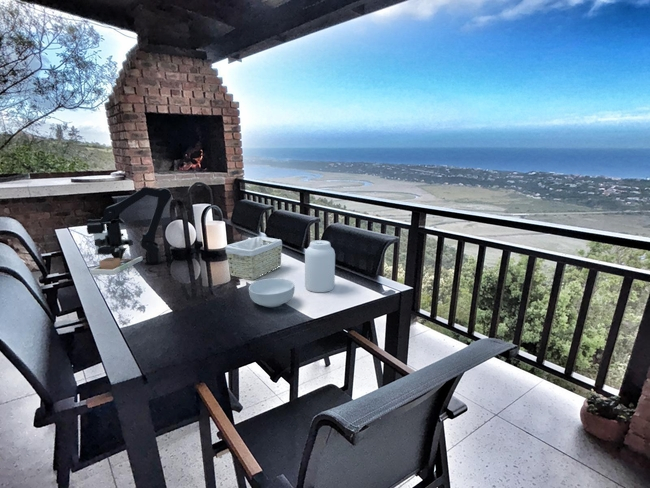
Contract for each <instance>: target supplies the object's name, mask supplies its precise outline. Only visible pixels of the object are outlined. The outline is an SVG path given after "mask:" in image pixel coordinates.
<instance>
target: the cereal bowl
mask: <svg viewBox="0 0 650 488" xmlns="http://www.w3.org/2000/svg"><path fill="white" fill-rule="evenodd" d="M248 292H249V293H248V294H249V296H250V299H251V301H252V302H254V303H255V304H257V305H259V306H263V307H266V308H277V307H280V306H282V305H284V304H285V303H287V302H289V301H290V300H291V299H292V298H293V296H294V294H295V283H294V282H293V281H291V280H289V279H285V278H280V277H278V278H277V277H276V278H275V277H273V278H266V279H265V278H263V279H260V280H256V281H254V282H252V283H250V285H249V287H248Z"/></svg>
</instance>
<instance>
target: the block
mask: <svg viewBox="0 0 650 488" xmlns="http://www.w3.org/2000/svg"><path fill="white" fill-rule="evenodd" d="M121 265H122V261H120V258H114V257H106V258H103V259H101V260H99V266H100V267H101V269H107V270H113V269H115V268H117V267H119V266H121Z"/></svg>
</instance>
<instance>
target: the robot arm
mask: <svg viewBox="0 0 650 488" xmlns="http://www.w3.org/2000/svg"><path fill="white" fill-rule="evenodd" d="M146 196H150V197H154V198H157V201H156V206H155V209H154V212H153V215H152V217H151V221H150V224H149V226H148V229H147V231H146V232H144V231H143V232H142V236H141V237H140V246H141V248H142V249H144V250H145V255H144V256H145V263H144V265H158V264H159V265H160V263H163V262H164V259H162V251H161V250H160V244H158V242H156V241H155V240H156V235H157V234H156V233H157V230H158V228H159V224H160V222H161V218H162V216H163V212H164V210H165V207H166V206H167V205H168V203H169V201H170V199H171V197H172V192H171V191H170V189H169V188H166V187H162V188H156V187H150V186H149V187H148V186H143V187H141V188H140V189H139V190H137V191H136V192H134V193H133V194H131V195H130V196H128V197H126V198H125V199H123V200H122V201H120V202H117V203H114V204H112V205H109V206H107V207H106V208H105V209H104V210H103V216H102V217H100V219H87V220H86V231H87V232H86V233H87V235H93V234H99V233H103V231H105V230H107V235H105V239H102V240H101V239H96V240H93V241H94V246H95V245H96V246H98V247H100V248H98V250H97V251H98V254H97V255H111V256H112V258H120V261H121V259H122V257H123V256H124V254H125V252H126V250H127V247H124V246H129V247H132V246H134V241H133V240H132V239H123V236H124V233H122V231H121V230H122V229H121V224H124V223H125V220H123V219H122V218H121V217H118V216H119V215H121V214H122V213H123V212H124V211H125V210H126V209H127V208H129V207H131V205H134V204H135V203H137V202H139V201H140V200H141V199H143V198H144V197H146ZM117 217H118V219H116V218H117ZM105 245H106V246H105ZM101 246H103V247H101ZM121 262H122V261H121Z"/></svg>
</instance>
